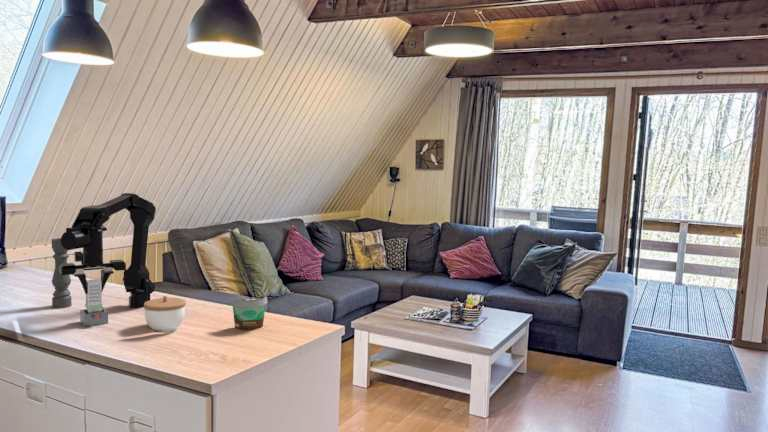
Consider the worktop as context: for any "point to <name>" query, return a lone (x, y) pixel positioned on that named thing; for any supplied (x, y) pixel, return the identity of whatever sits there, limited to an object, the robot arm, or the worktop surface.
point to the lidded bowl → (164, 313)
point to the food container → (249, 313)
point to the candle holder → (60, 277)
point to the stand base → (94, 318)
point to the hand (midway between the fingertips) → (93, 293)
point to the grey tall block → (94, 296)
